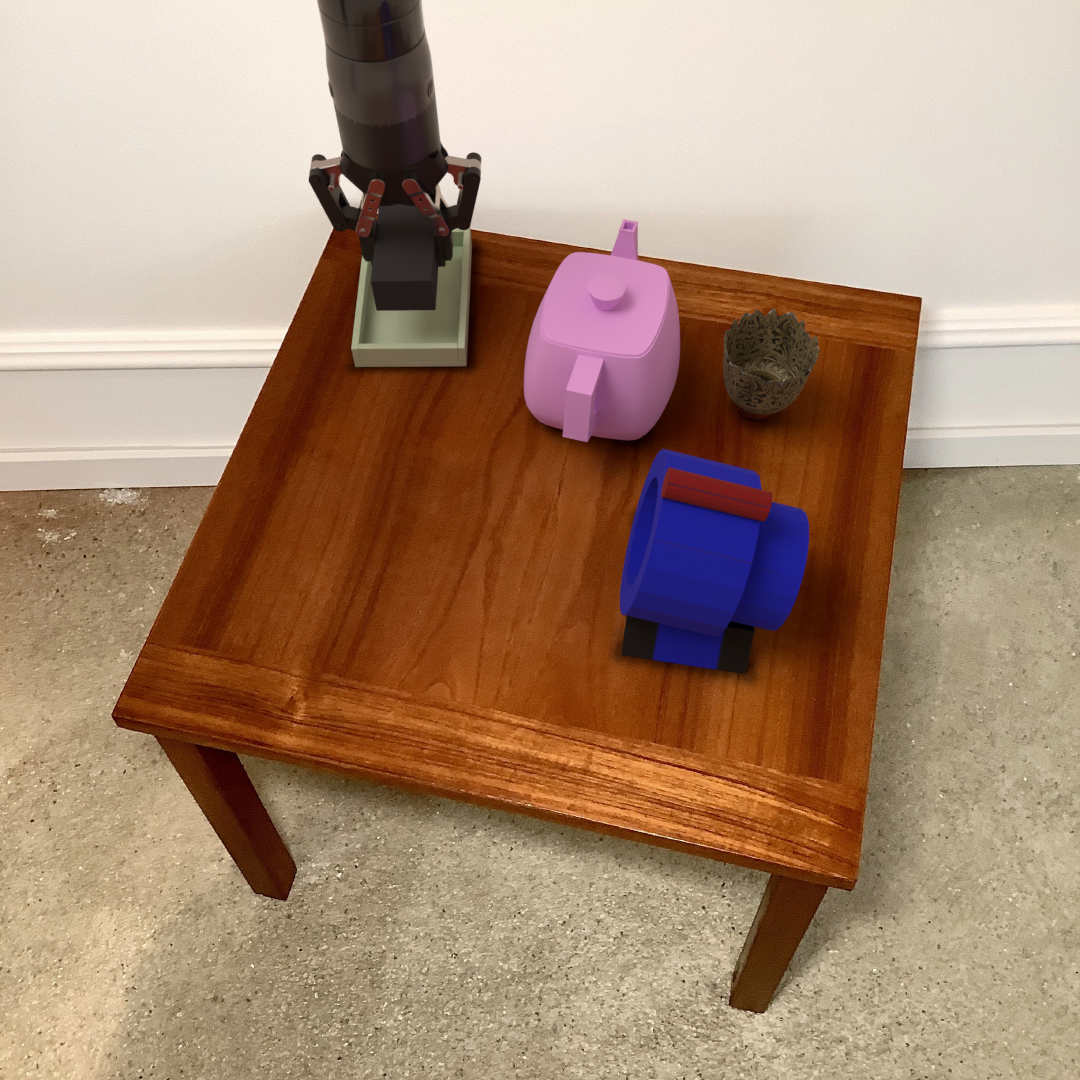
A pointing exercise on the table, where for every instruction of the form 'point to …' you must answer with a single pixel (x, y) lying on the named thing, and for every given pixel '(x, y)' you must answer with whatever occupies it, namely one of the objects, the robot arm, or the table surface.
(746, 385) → the cup
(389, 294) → the black rectangular block
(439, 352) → the pale green tray
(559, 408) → the teapot
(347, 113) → the robot arm
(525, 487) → the table surface
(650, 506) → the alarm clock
